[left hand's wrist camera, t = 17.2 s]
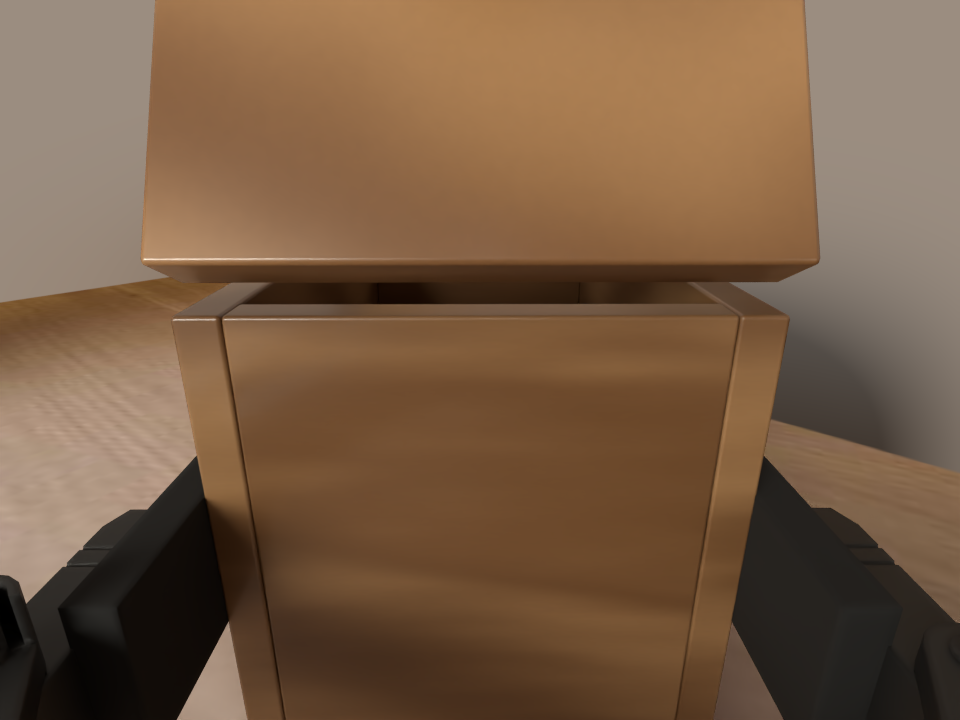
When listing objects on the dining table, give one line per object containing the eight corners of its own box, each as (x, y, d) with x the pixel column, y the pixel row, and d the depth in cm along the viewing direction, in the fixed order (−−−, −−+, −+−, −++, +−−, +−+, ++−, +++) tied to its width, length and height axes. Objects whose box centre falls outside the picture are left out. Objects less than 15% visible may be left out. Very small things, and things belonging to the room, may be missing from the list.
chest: (373, 453, 26) (356, 211, 22) (584, 453, 26) (601, 210, 22) (259, 793, 12) (168, 316, 9) (700, 791, 12) (792, 315, 9)
